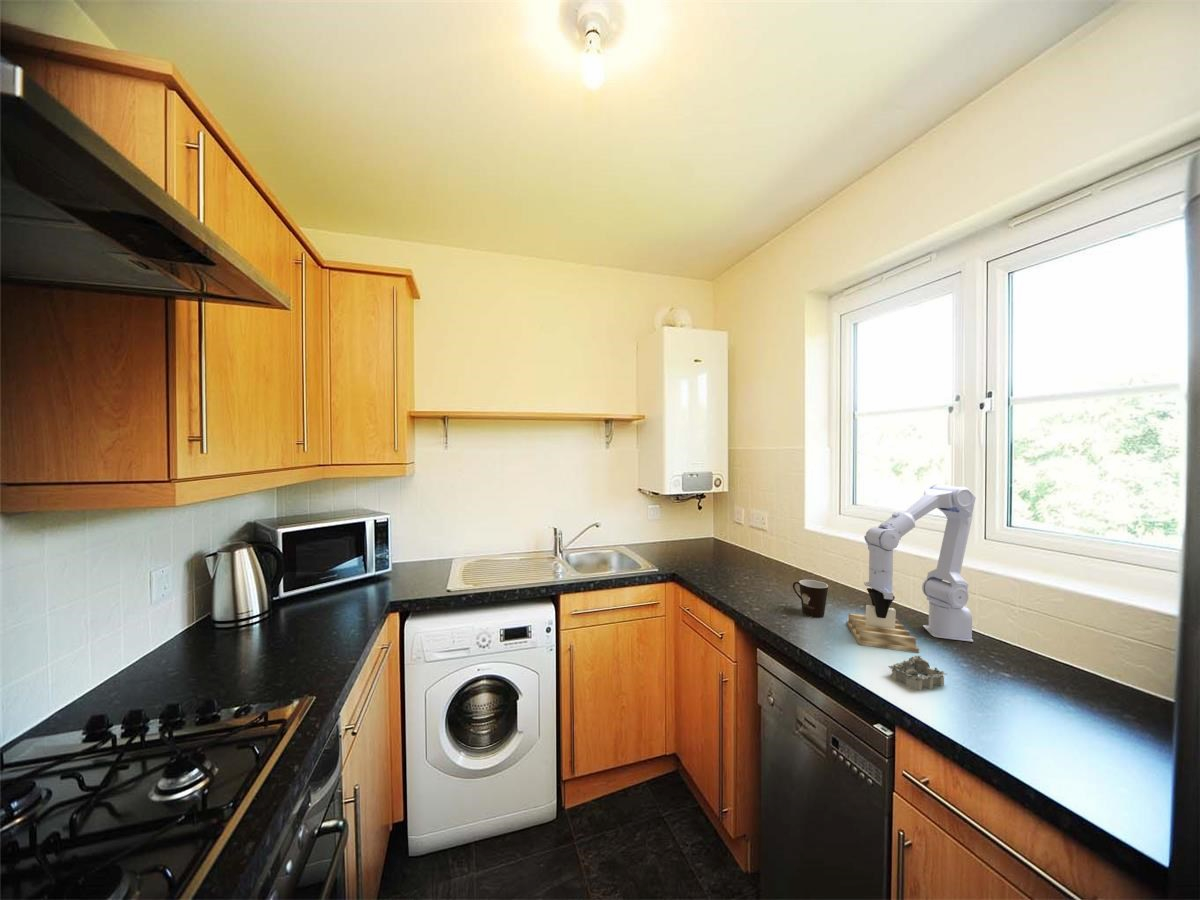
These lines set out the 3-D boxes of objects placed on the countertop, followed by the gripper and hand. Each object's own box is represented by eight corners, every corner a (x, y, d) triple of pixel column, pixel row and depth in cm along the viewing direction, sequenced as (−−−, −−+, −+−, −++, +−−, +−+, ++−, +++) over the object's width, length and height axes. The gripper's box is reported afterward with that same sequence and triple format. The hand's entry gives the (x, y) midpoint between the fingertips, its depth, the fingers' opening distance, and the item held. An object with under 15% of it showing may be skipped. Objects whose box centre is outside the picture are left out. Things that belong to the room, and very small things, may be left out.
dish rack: (898, 630, 127) (898, 618, 127) (918, 652, 113) (919, 639, 113) (846, 623, 132) (846, 612, 132) (859, 644, 117) (859, 632, 117)
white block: (893, 628, 122) (893, 608, 122) (894, 631, 120) (895, 610, 120) (865, 625, 124) (866, 604, 124) (866, 627, 123) (867, 606, 122)
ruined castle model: (920, 670, 104) (920, 654, 104) (951, 687, 97) (951, 670, 97) (884, 675, 102) (884, 658, 102) (913, 692, 95) (914, 674, 95)
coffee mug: (833, 619, 135) (833, 588, 135) (806, 619, 135) (806, 587, 135) (815, 606, 146) (815, 577, 146) (790, 605, 146) (790, 576, 146)
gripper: (858, 561, 130) (857, 605, 130) (872, 574, 117) (871, 623, 117) (884, 564, 128) (883, 608, 128) (902, 577, 114) (901, 627, 114)
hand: (879, 616), depth 122 cm, fingers closed on white block, 2 cm apart
